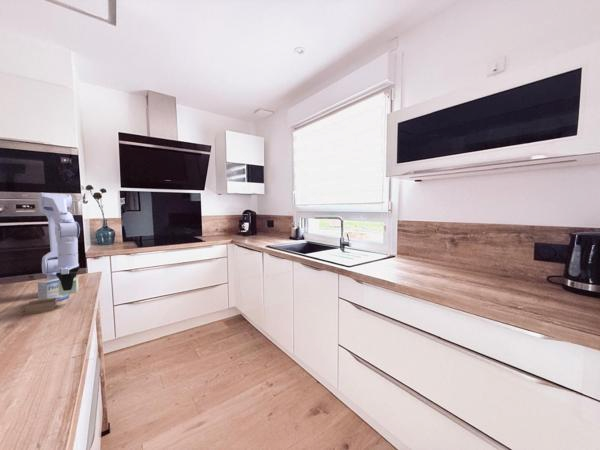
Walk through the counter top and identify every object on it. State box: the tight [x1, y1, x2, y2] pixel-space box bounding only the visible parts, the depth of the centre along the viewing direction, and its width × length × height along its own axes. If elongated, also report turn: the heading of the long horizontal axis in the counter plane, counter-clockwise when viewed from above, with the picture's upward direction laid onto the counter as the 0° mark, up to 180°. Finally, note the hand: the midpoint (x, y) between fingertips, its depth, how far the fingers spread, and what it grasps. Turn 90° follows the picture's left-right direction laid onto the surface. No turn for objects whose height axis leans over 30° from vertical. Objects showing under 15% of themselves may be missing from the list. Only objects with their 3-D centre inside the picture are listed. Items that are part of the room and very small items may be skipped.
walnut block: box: [24, 298, 58, 316], centre depth 91 cm, size 7×7×3 cm
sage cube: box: [58, 276, 79, 295], centre depth 95 cm, size 5×5×5 cm
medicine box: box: [37, 278, 70, 302], centre depth 99 cm, size 8×4×9 cm, turn 168°
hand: (68, 288), depth 95 cm, fingers closed on sage cube, 5 cm apart
